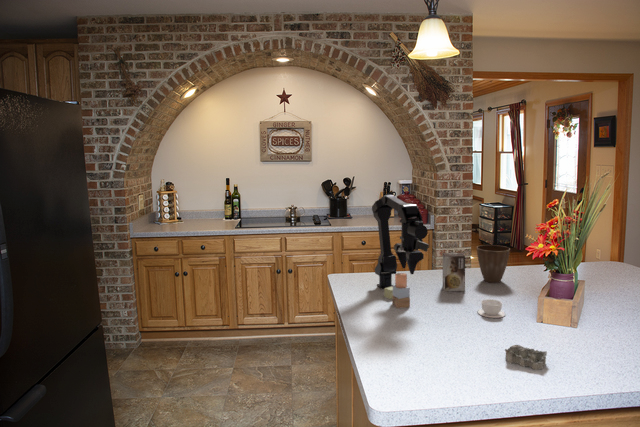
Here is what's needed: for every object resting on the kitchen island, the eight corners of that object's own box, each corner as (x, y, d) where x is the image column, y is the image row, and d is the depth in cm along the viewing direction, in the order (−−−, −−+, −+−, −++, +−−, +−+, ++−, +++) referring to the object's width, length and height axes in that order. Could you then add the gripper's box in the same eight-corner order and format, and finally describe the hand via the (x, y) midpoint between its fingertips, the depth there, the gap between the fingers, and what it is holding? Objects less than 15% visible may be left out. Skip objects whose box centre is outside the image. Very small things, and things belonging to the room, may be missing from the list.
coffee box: (462, 287, 210) (462, 252, 208) (465, 291, 204) (465, 255, 202) (441, 286, 211) (442, 252, 209) (444, 291, 205) (444, 255, 203)
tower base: (392, 303, 190) (392, 294, 189) (405, 302, 191) (405, 293, 190) (396, 308, 185) (396, 298, 184) (409, 307, 185) (409, 297, 185)
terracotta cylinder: (393, 285, 188) (393, 273, 188) (404, 284, 189) (404, 272, 189) (397, 288, 184) (397, 276, 183) (408, 287, 185) (408, 275, 184)
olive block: (384, 297, 199) (384, 288, 198) (390, 295, 201) (390, 286, 201) (391, 299, 196) (391, 290, 195) (397, 297, 198) (397, 288, 197)
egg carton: (502, 362, 137) (502, 349, 136) (511, 353, 142) (511, 340, 142) (540, 372, 130) (540, 358, 129) (548, 363, 135) (549, 349, 135)
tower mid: (392, 295, 189) (392, 285, 188) (403, 293, 190) (403, 284, 190) (398, 298, 184) (398, 289, 183) (409, 297, 186) (409, 287, 185)
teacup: (507, 319, 170) (508, 307, 169) (479, 318, 172) (479, 306, 171) (502, 310, 180) (502, 298, 179) (475, 309, 182) (476, 297, 181)
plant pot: (473, 276, 228) (473, 244, 226) (504, 276, 226) (505, 244, 223) (479, 284, 213) (480, 251, 211) (512, 285, 211) (514, 251, 209)
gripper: (436, 238, 182) (435, 276, 184) (418, 229, 200) (417, 264, 202) (409, 239, 180) (409, 278, 182) (393, 230, 198) (393, 265, 200)
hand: (407, 271), depth 192 cm, fingers open, 9 cm apart
